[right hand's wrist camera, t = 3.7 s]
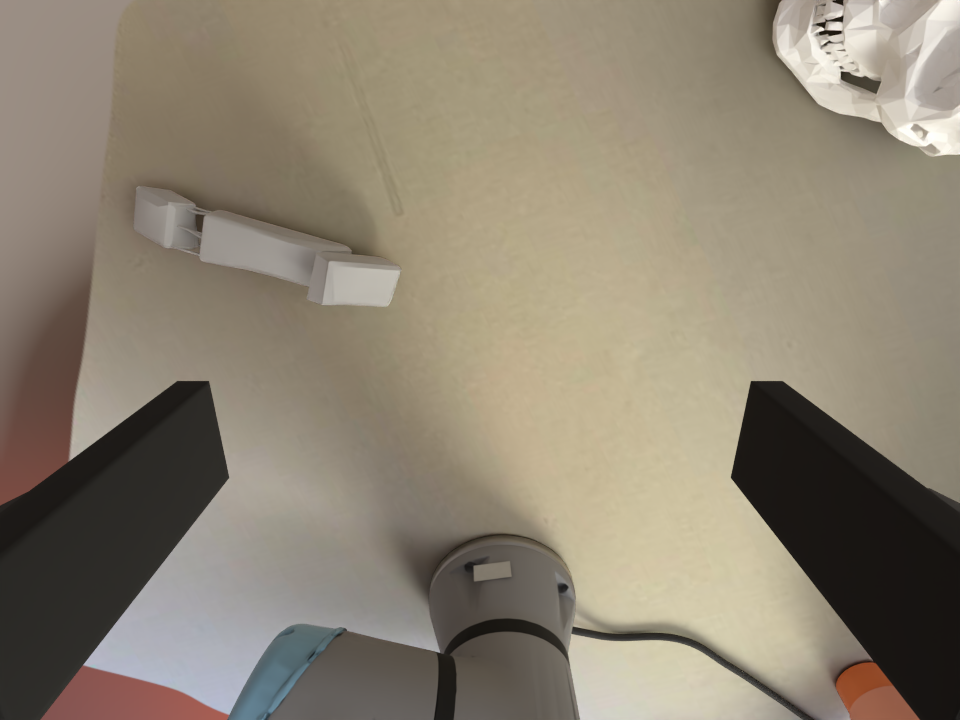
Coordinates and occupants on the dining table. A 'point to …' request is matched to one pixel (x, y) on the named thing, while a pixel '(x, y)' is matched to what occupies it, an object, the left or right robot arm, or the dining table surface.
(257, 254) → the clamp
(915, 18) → the skull
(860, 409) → the dining table surface
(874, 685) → the cup with straw
